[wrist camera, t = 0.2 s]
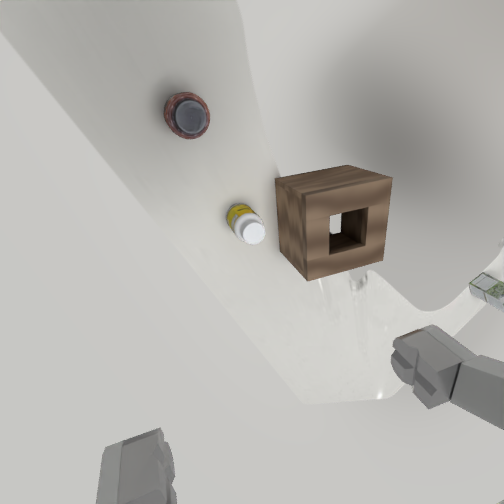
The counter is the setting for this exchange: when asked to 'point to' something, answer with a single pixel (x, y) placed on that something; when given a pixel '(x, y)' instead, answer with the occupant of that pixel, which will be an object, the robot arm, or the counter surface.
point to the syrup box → (488, 290)
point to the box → (318, 216)
